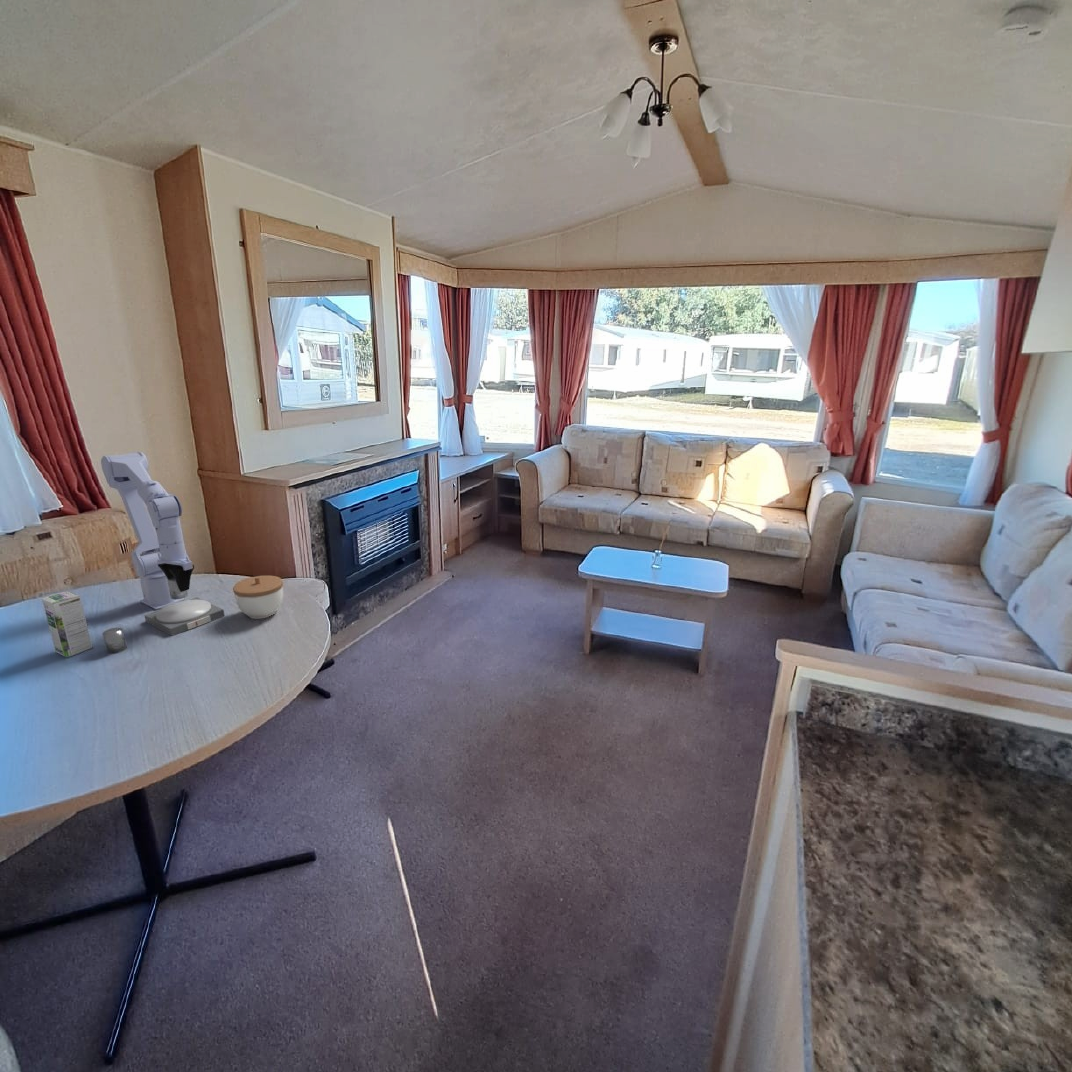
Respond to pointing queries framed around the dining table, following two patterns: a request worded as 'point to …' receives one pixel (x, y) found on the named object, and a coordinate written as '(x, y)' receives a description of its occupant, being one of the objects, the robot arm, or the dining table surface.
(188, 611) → the scale
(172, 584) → the cylinder
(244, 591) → the lidded bowl
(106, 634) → the cylinder
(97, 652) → the dining table surface
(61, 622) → the syrup box
